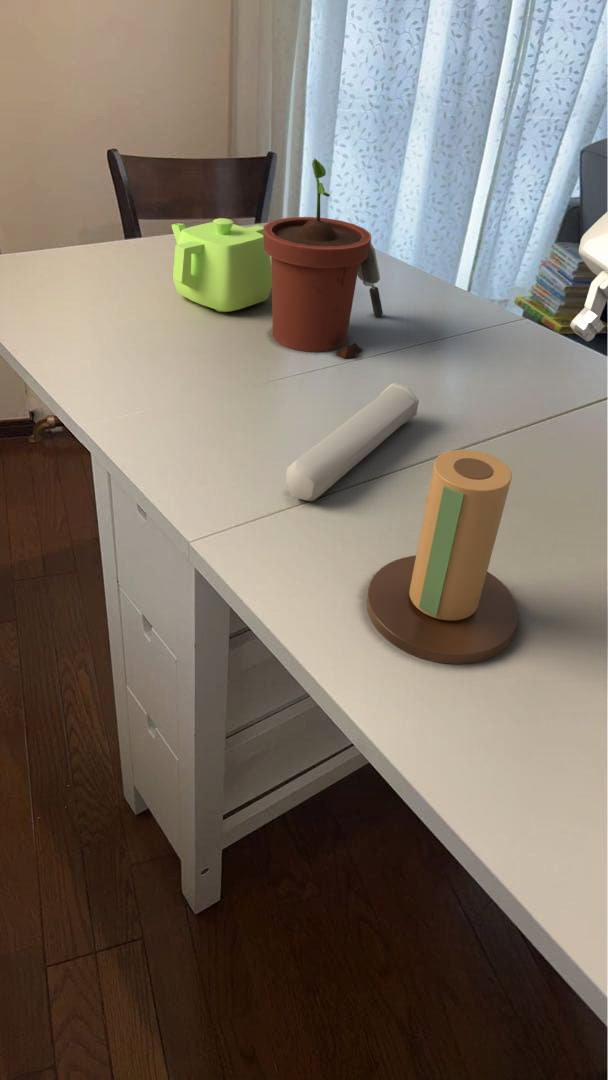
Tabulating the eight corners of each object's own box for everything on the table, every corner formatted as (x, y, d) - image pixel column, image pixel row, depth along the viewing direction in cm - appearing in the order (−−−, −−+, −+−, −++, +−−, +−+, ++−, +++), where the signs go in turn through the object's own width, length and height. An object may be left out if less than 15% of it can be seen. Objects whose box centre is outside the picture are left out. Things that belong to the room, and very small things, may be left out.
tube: (324, 485, 84) (425, 398, 101) (284, 455, 85) (391, 374, 102) (307, 518, 87) (407, 429, 105) (269, 490, 88) (375, 406, 106)
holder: (530, 592, 78) (534, 580, 77) (494, 686, 68) (498, 673, 67) (396, 548, 82) (398, 536, 81) (343, 629, 72) (344, 617, 71)
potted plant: (253, 313, 131) (258, 147, 116) (381, 314, 135) (402, 153, 120) (265, 358, 117) (272, 176, 102) (407, 358, 121) (434, 182, 106)
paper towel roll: (486, 589, 75) (520, 461, 67) (466, 631, 71) (500, 499, 62) (422, 567, 77) (447, 441, 69) (398, 607, 72) (422, 476, 64)
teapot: (133, 294, 134) (128, 213, 126) (218, 270, 147) (218, 195, 139) (209, 327, 125) (209, 242, 117) (293, 298, 138) (298, 220, 130)
